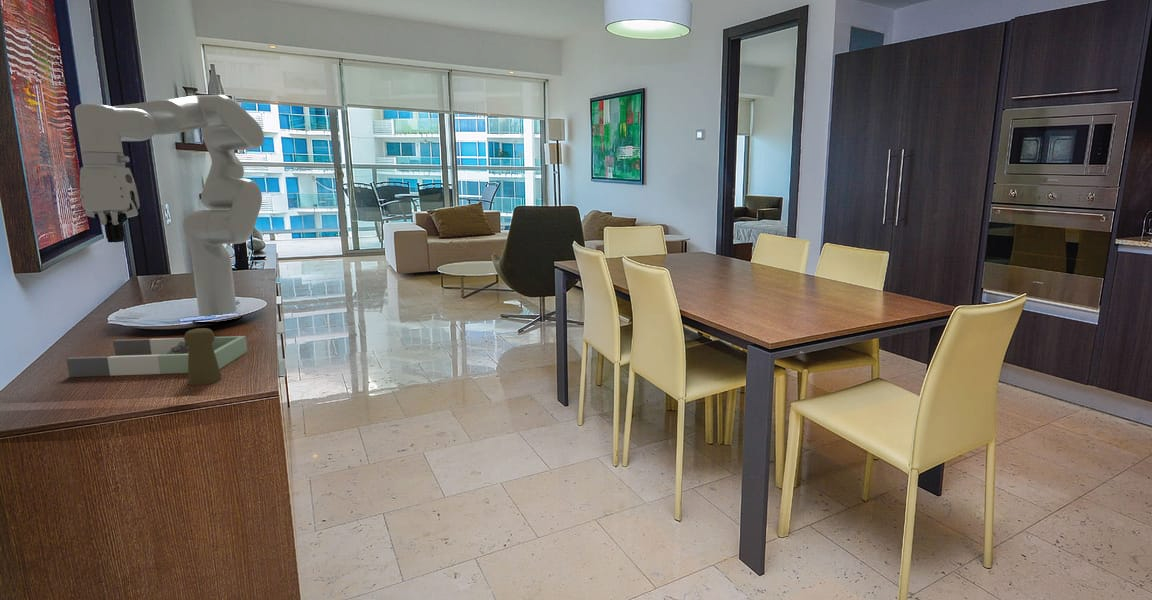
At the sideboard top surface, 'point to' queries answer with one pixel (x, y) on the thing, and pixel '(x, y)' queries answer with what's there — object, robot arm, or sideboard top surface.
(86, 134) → the robot arm
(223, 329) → the sideboard top surface
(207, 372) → the cork
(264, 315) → the sideboard top surface
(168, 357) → the frame
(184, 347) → the egg carton
